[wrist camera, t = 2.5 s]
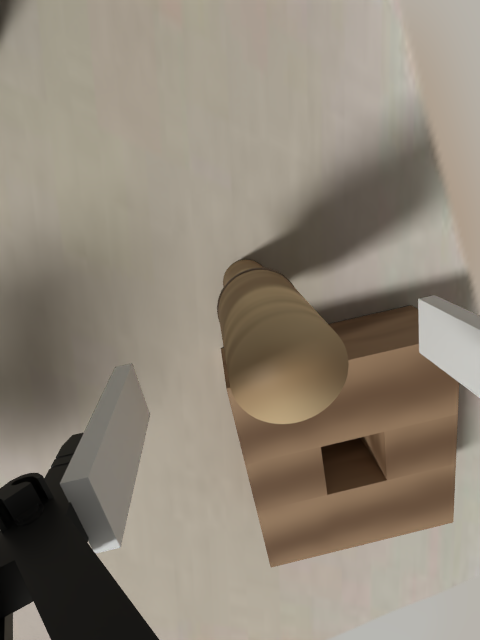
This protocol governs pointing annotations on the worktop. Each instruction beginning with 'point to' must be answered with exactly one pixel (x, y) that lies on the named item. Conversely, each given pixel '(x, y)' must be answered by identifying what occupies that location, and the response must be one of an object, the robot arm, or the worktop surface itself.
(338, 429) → the socket block
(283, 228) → the worktop surface
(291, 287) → the peg
